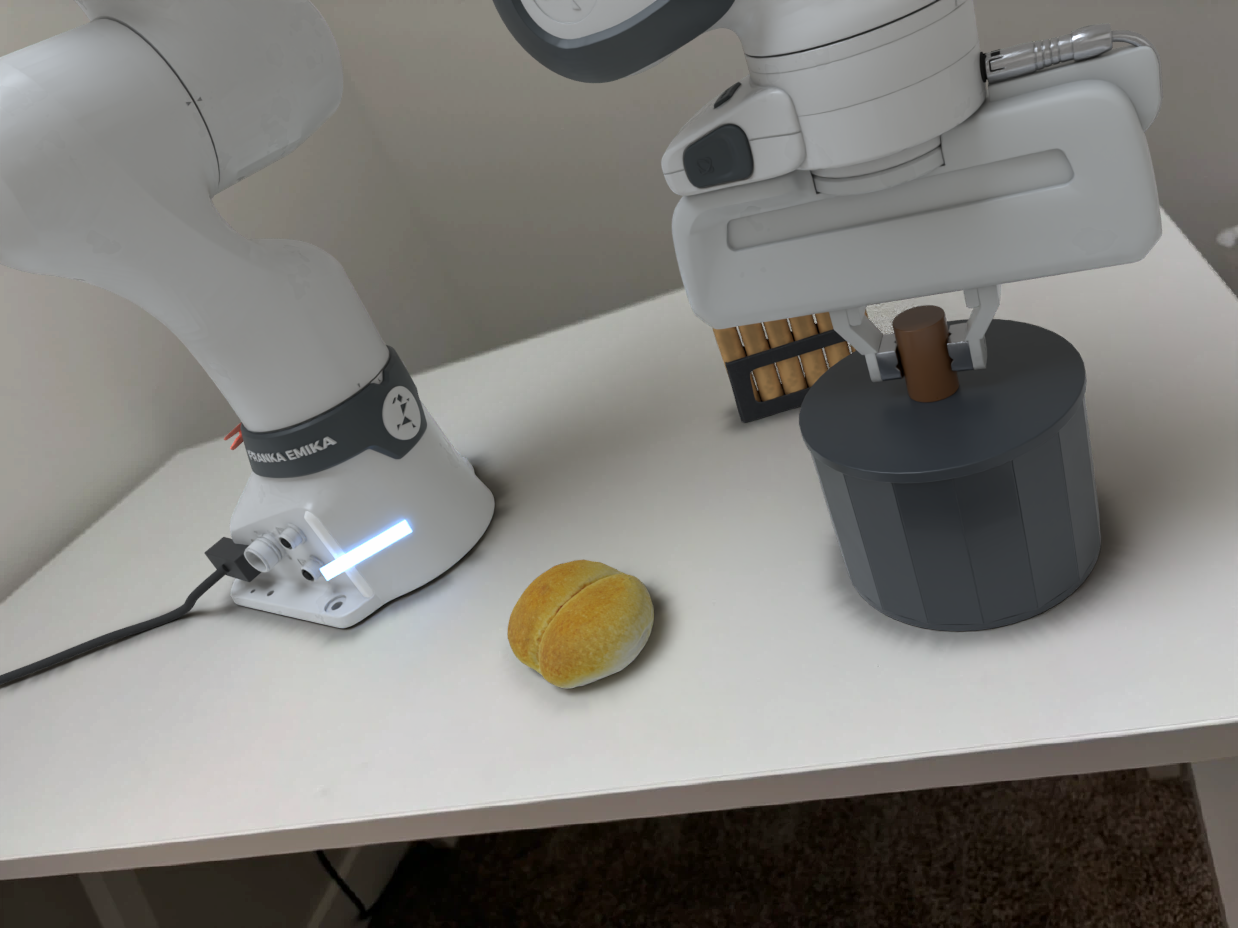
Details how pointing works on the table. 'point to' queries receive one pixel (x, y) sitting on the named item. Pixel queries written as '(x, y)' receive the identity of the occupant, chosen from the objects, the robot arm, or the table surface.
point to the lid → (943, 403)
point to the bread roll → (580, 622)
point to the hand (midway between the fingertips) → (928, 369)
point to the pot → (973, 536)
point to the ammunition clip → (778, 361)
